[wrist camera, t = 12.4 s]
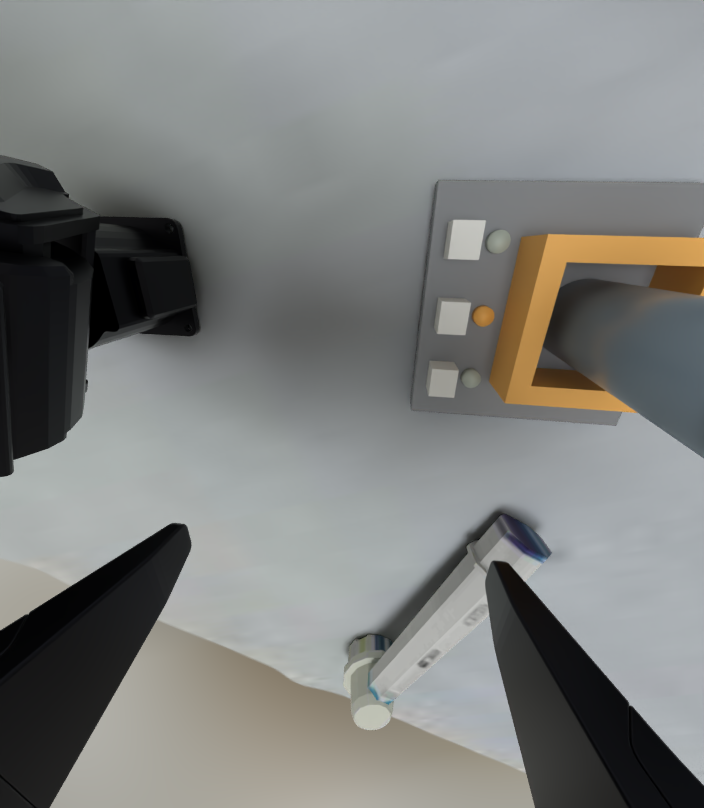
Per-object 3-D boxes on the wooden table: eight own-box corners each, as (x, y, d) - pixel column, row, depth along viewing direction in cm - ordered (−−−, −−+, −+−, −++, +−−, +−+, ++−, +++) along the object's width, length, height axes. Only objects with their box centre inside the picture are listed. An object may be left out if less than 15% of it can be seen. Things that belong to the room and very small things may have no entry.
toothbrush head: (573, 574, 21) (380, 761, 29) (526, 510, 28) (378, 677, 35) (507, 540, 21) (328, 740, 28) (475, 483, 27) (335, 658, 34)
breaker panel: (410, 402, 21) (413, 434, 18) (435, 184, 16) (448, 164, 12) (604, 416, 20) (652, 454, 16) (698, 187, 15) (800, 166, 11)
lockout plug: (547, 369, 18) (809, 584, 7) (525, 302, 17) (805, 423, 5) (630, 336, 17) (1139, 531, 5) (613, 261, 16) (1244, 299, 4)
